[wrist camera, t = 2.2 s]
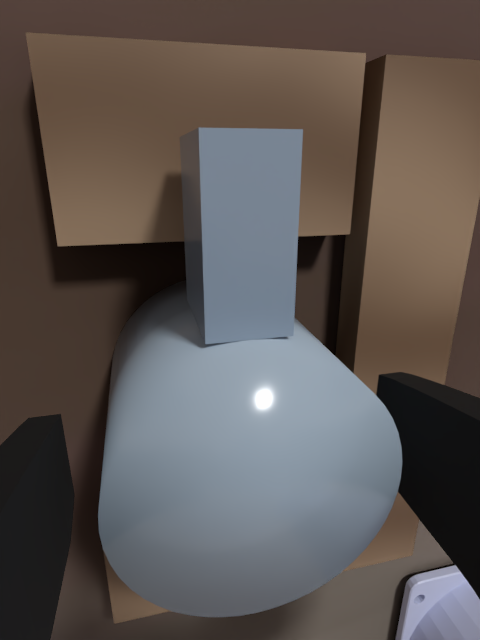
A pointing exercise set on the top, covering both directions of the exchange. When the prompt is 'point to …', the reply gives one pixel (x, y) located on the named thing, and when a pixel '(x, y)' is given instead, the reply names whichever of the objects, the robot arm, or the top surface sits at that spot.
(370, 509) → the grey round flask
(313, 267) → the top surface
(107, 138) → the brown wooden panels
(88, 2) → the top surface
